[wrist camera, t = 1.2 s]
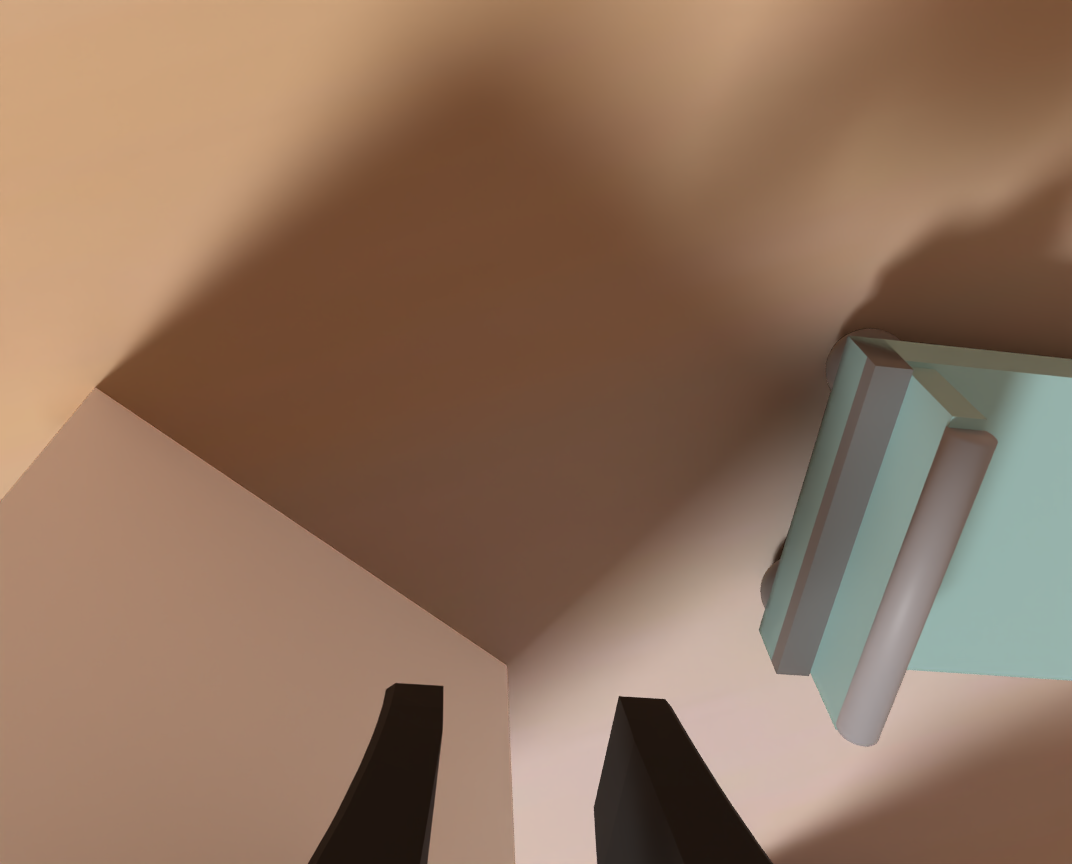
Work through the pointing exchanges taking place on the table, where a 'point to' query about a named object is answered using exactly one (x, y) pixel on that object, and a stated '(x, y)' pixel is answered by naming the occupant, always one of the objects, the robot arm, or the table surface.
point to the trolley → (927, 526)
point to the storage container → (208, 669)
